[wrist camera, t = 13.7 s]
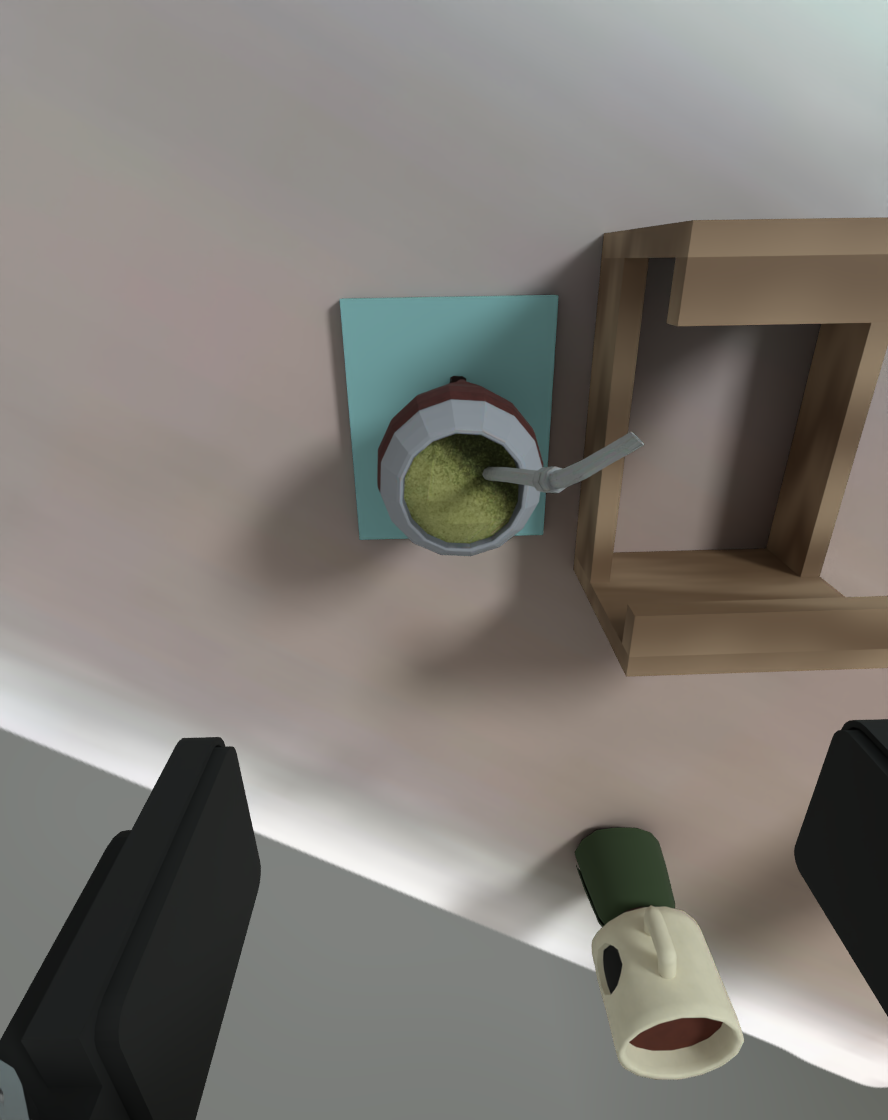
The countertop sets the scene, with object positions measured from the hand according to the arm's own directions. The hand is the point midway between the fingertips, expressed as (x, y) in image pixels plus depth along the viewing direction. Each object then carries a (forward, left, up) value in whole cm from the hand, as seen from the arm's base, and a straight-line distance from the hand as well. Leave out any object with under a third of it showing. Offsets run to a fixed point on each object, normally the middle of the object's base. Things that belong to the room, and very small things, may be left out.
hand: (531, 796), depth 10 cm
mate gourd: (0, 0, -23) cm, 23 cm away
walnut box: (0, -13, -24) cm, 27 cm away
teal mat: (0, 0, -24) cm, 24 cm away
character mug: (-32, -12, -24) cm, 42 cm away
